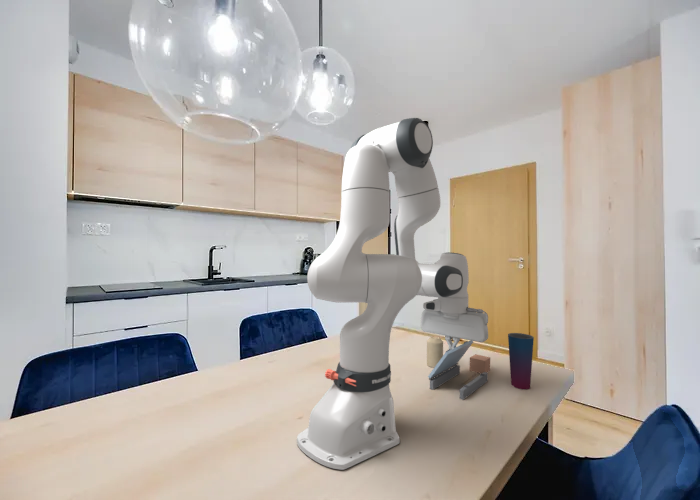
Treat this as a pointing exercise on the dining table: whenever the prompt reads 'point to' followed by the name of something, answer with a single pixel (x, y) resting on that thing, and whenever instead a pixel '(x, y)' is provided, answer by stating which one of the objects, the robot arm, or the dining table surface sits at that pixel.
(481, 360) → the block
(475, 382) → the grey rail
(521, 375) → the cup
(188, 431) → the dining table surface
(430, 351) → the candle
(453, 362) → the cover
